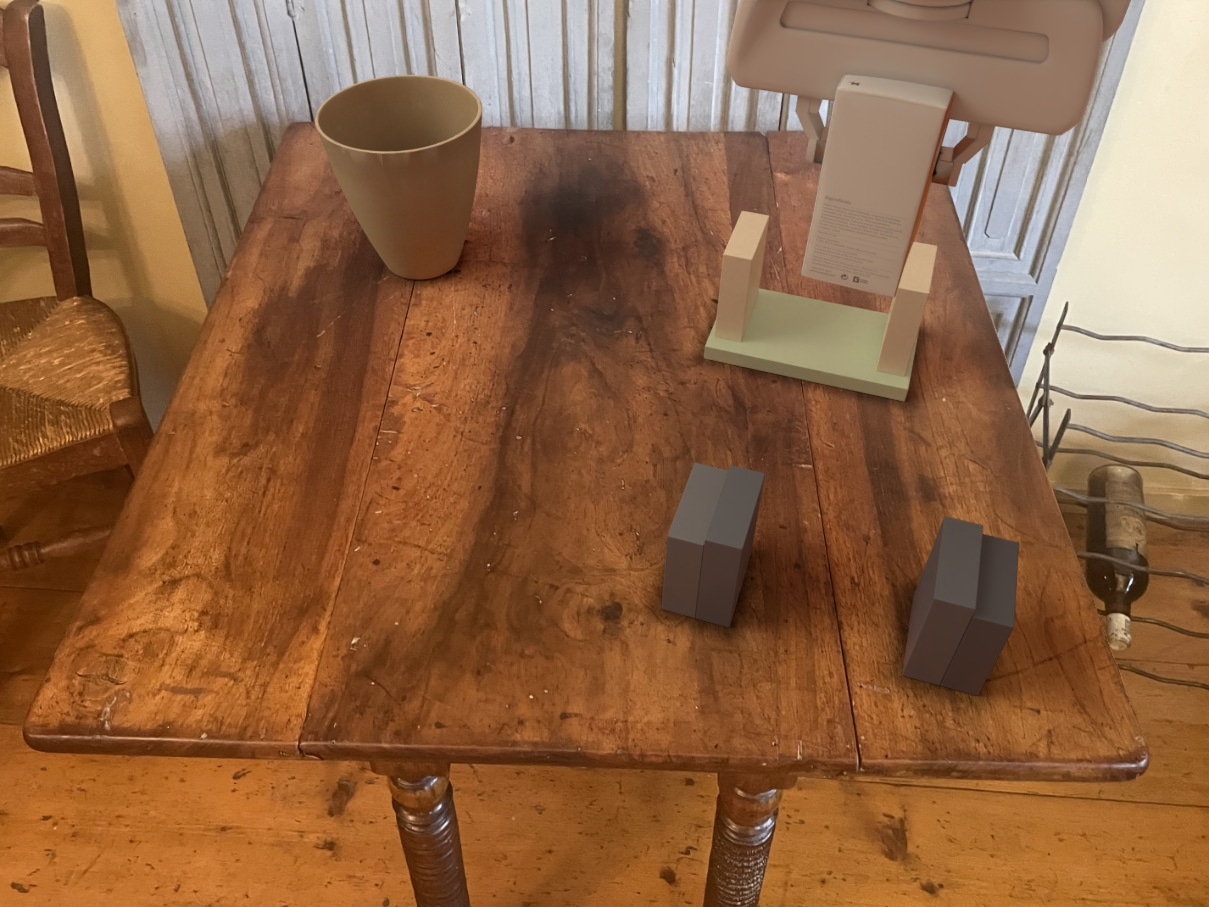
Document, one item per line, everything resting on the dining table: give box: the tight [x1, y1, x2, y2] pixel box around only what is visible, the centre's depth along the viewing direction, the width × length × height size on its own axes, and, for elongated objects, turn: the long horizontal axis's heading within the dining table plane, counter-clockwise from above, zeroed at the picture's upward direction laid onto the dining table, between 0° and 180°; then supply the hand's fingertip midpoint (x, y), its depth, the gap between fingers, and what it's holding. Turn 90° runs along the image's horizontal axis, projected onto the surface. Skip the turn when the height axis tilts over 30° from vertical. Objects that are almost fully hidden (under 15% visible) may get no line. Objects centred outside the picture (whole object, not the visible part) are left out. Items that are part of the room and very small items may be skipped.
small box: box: [800, 75, 955, 299], centre depth 61 cm, size 8×6×13 cm
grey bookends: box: [661, 462, 1020, 697], centre depth 67 cm, size 22×7×9 cm, turn 72°
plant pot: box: [314, 74, 483, 281], centre depth 94 cm, size 15×15×16 cm
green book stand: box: [703, 210, 938, 403], centre depth 87 cm, size 18×10×10 cm, turn 72°
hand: (879, 170), depth 61 cm, fingers closed on small box, 6 cm apart
